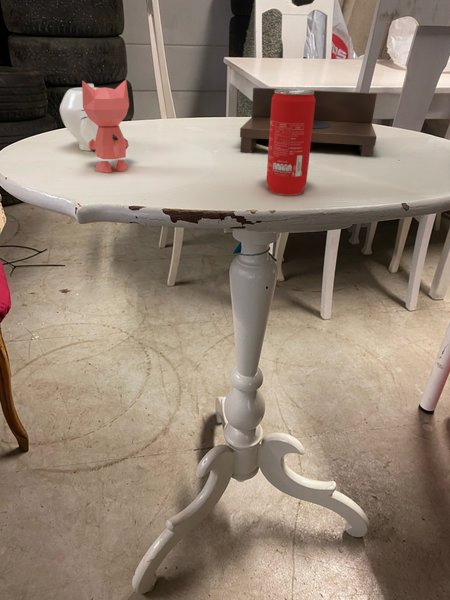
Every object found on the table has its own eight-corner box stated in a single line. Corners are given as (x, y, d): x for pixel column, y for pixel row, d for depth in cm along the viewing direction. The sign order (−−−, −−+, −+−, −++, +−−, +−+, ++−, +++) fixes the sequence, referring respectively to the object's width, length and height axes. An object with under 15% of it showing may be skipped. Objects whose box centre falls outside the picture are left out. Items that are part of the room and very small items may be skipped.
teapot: (61, 162, 71) (51, 97, 67) (68, 137, 88) (60, 83, 83) (125, 160, 73) (119, 96, 69) (120, 135, 90) (115, 83, 85)
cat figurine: (129, 162, 73) (122, 76, 67) (144, 172, 67) (138, 81, 61) (83, 166, 70) (71, 77, 64) (95, 178, 64) (84, 82, 58)
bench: (367, 145, 87) (376, 92, 83) (372, 161, 76) (382, 102, 72) (251, 138, 91) (253, 87, 86) (239, 152, 80) (241, 95, 75)
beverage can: (257, 190, 61) (263, 90, 55) (281, 182, 65) (288, 87, 59) (290, 199, 58) (300, 94, 52) (313, 190, 62) (324, 91, 56)
